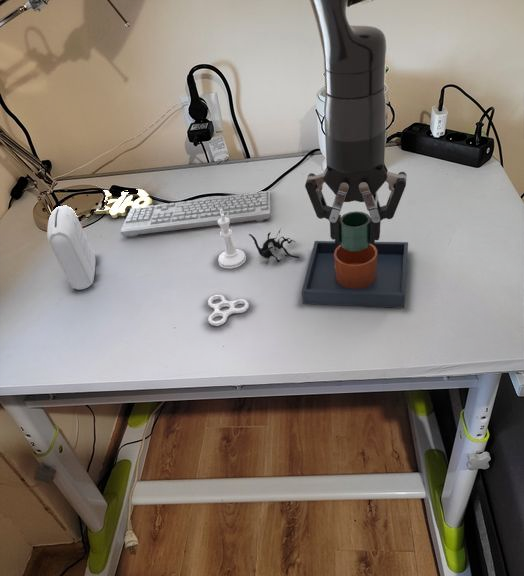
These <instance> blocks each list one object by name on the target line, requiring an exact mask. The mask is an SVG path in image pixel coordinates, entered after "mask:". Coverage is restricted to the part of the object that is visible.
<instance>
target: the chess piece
mask: <svg viewBox="0 0 524 576" xmlns="http://www.w3.org/2000/svg"><path fill="white" fill-rule="evenodd" d="M220 214H221V218H220V219H219V220H218V224H219V225H218V226H219V228H220V229H221V231H220V232H219V236H220V237H222V238H224V247H225V250H224V251H222V252H221V253H220V254H219V256H218V258H217V259H218V265H219V266H220V267H221V268H223V269H236V268H239V267H241V266H242V265H244V263H246V260H247V255H246V253H245V252H244V251H243V250H241V249H240V248H235V246H234V244H233V242H232V241H233V240H232V238H231V236H232V235H233V233H234V232H233V230H232V229H231V228H230V224H231V223H230V219H229V218H227V217H225V216H224V213H223V210H222V209H220Z"/></svg>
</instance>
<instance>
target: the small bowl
mask: <svg viewBox="0 0 524 576" xmlns="http://www.w3.org/2000/svg"><path fill="white" fill-rule="evenodd" d="M370 220H371V216H370V214H369V213H366V212H364V211H359V210H357V211H356V210H355V211H349V212H347V213H344V214H343V215H341V218H340V244H341V246H342V248H344V249H345V250H348V251H361V250H364V249H366V248H367V247H368V246H369V245H370Z"/></svg>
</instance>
